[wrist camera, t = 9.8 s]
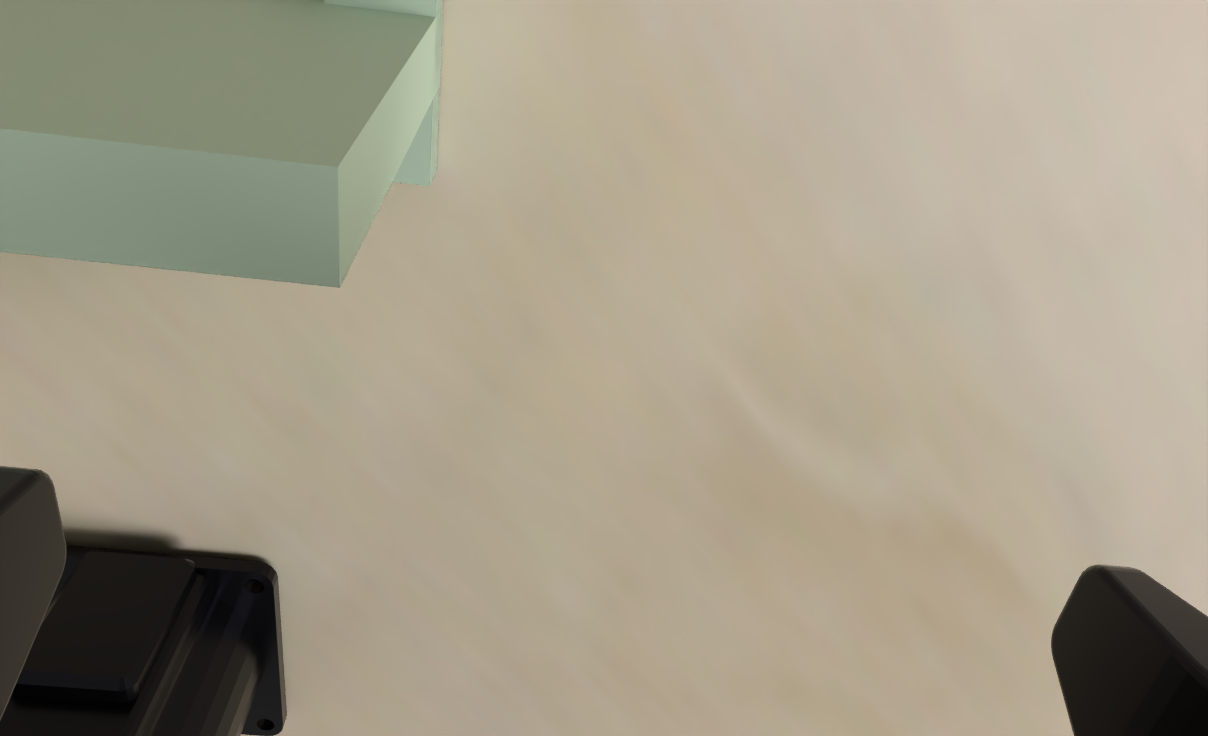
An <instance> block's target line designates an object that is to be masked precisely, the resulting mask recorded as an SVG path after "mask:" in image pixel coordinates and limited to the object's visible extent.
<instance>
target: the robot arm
mask: <svg viewBox="0 0 1208 736" xmlns="http://www.w3.org/2000/svg"><path fill="white" fill-rule="evenodd" d="M252 579H255V580H259V581H260V582H261V583H258V582H254V581H253V580H252ZM1051 648H1052V656H1053V660H1054V664H1055V667H1056V671H1057V675H1058V678H1059V682H1060V686H1061V689H1062V693H1063V697H1064V700H1065V704H1066V708H1067V712H1068V715H1069V719H1070V723H1071V726H1072V730H1073V734H1074V736H1208V616H1206V615H1205V614H1203V613H1202V612H1200V611H1199V610H1197V609H1196V608H1195V607H1193V606H1192V605H1190V604H1189V603H1187V602H1186V601H1184V600H1183V599H1182V598H1180V597H1179V596H1177V595H1176V594H1174V593H1173V592H1171V591H1170V590H1169V589H1167V588H1166V587H1164V586H1163V585H1161V584H1160V583H1158V582H1157V581H1155V580H1154V579H1153V578H1151V577H1150V576H1148V575H1147V574H1145V573H1144V572H1142V571H1140V570H1138V569H1135V568H1130V567H1120V566H1109V565H1093V566H1090V567H1088V568H1087V569H1086V570H1085V571H1083V572H1082V574H1081V576H1080V577H1079V579H1078V581H1077V583H1076V585H1075V587H1074V589H1073V591H1072V593H1071V595H1070V597H1069V599H1068V601H1067V602H1066V604H1065V606H1064V608H1063V610H1062V612H1061V614H1060V616H1059V618H1058V620H1057V622H1056V624H1055V626H1054V629H1053V633H1052V640H1051ZM286 716H287V710H286V695H285V679H284V664H283V649H282V633H281V618H280V603H279V587H278V576H277V573H276V571H275V570H274V569H273V568H272V567H271V566H269V565H267V564H265V563H262V562H257V561H245V560H233V559H221V558H209V557H197V556H185V555H173V554H161V553H149V552H137V551H125V550H114V549H102V548H90V547H78V546H66V541H65V536H64V531H63V526H62V522H61V517H60V512H59V508H58V503H57V498H56V493H55V489H54V485H53V482H52V480H51V478H50V477H49V475H48V474H46V473H45V472H43V471H41V470H38V469H27V468H16V467H5V466H0V736H240V735H241V734H246V735H260V736H273V735H276V734H279V733H280V732H281V731H282V729H283V726H284V723H285V720H286Z"/></svg>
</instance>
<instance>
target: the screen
mask: <svg viewBox="0 0 1208 736" xmlns="http://www.w3.org/2000/svg"><path fill="white" fill-rule="evenodd" d="M442 18H443V0H0V252H7V253H17V254H26V255H36V256H45V257H55V258H64V259H74V260H83V261H92V262H102V263H111V264H121V265H130V266H140V267H149V268H159V269H168V270H178V271H187V272H197V273H206V274H215V275H225V276H234V277H244V278H253V279H263V280H272V281H282V282H291V283H301V284H310V285H320V286H329V287H339V288H340V286H341V284H342V282H343V280H344V278H345V276H346V274H347V272H348V270H349V268H350V266H351V264H352V262H353V260H354V258H355V256H356V254H357V252H358V250H359V248H360V246H361V244H362V242H363V240H364V238H365V236H366V234H367V232H368V230H369V228H370V226H371V224H372V222H373V220H374V217H375V215H376V213H377V211H378V209H379V207H380V205H381V203H382V201H383V199H384V197H385V195H386V193H387V191H388V189H389V187H390V185H391V183H392V182H396V183H405V184H414V185H422V186H430V185H431V182H432V180H433V177H434V175H435V172H436V170H437V149H438V123H439V97H440V71H441V45H442Z"/></svg>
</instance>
